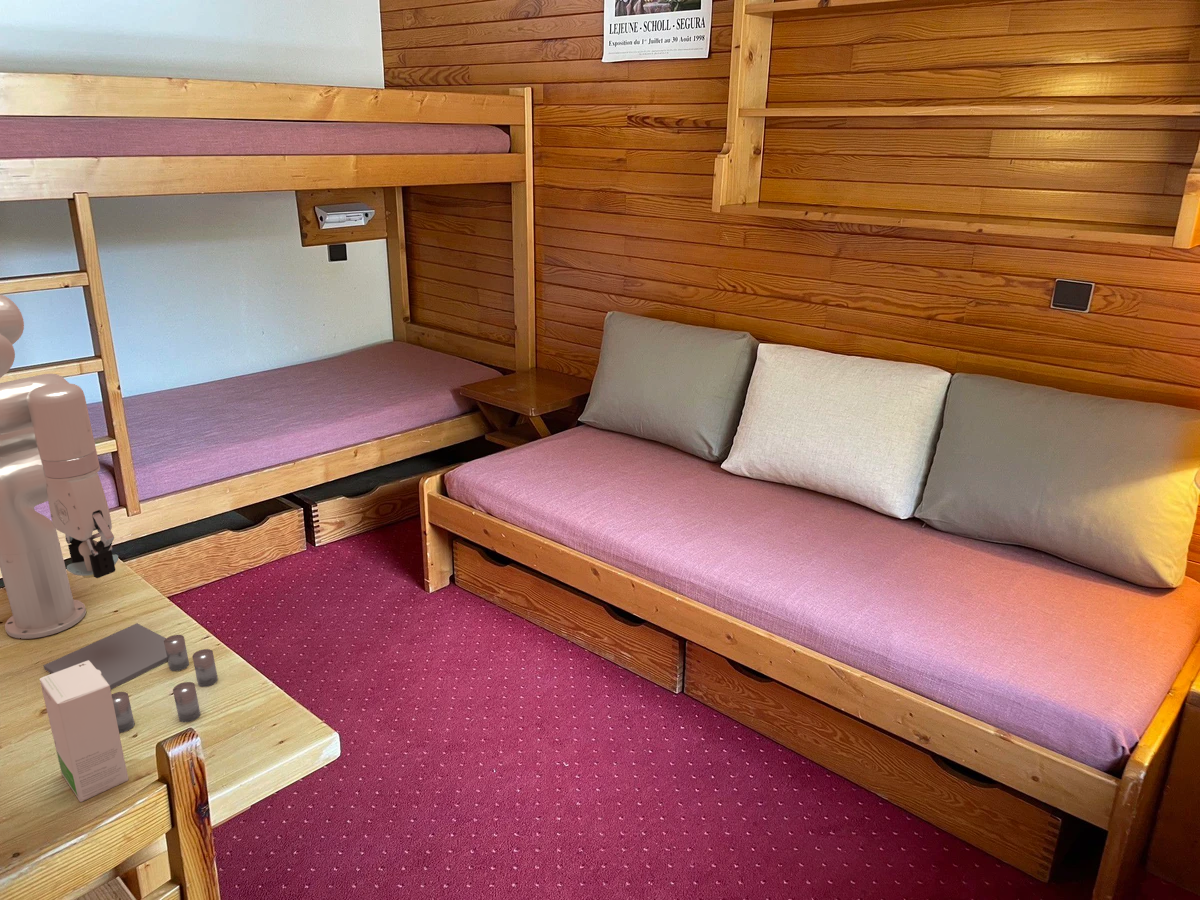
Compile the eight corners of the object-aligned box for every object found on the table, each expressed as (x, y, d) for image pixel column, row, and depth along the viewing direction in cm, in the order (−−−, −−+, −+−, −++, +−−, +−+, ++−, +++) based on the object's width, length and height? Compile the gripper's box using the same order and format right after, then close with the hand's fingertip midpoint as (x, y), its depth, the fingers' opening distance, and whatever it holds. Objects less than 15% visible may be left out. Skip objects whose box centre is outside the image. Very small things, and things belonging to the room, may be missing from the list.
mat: (44, 669, 150) (43, 665, 150) (137, 627, 162) (136, 623, 162) (91, 699, 142) (90, 694, 141) (186, 652, 154) (185, 648, 154)
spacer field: (80, 710, 139) (73, 682, 137) (182, 659, 152) (177, 632, 150) (141, 750, 130) (134, 720, 128) (244, 691, 143) (239, 664, 141)
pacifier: (68, 571, 148) (70, 585, 143) (60, 535, 146) (61, 548, 141) (118, 560, 151) (122, 573, 146) (111, 525, 149) (114, 537, 145)
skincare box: (61, 774, 125) (35, 677, 120) (112, 752, 129) (89, 657, 124) (80, 804, 119) (54, 703, 114) (133, 780, 124) (110, 681, 118)
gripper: (18, 460, 142) (43, 564, 148) (74, 483, 132) (99, 593, 139) (67, 446, 148) (90, 547, 154) (124, 468, 138) (146, 574, 144)
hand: (94, 568), depth 146 cm, fingers closed on pacifier, 5 cm apart
